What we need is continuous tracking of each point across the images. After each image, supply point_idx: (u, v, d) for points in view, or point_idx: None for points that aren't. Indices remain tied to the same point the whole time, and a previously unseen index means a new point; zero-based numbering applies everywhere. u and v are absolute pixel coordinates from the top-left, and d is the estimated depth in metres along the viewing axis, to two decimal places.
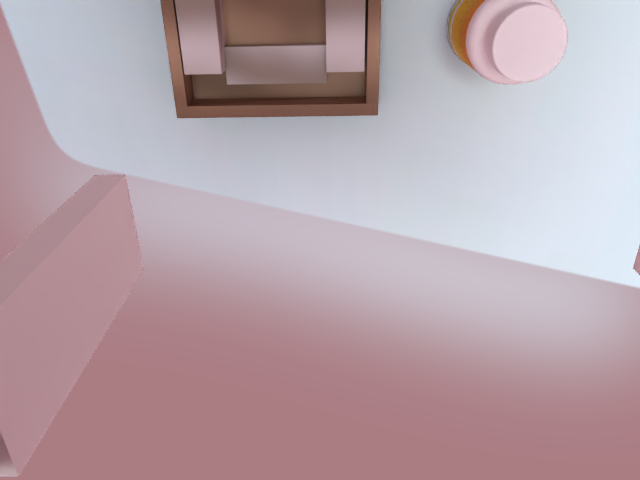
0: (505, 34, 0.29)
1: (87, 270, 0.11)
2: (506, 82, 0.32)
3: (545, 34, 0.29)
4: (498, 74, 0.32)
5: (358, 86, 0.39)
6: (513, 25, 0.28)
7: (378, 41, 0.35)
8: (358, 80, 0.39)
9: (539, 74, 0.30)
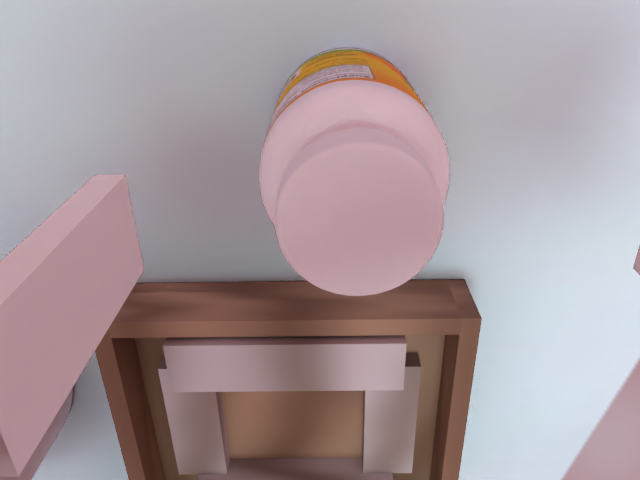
0: (336, 277, 0.13)
1: (87, 270, 0.11)
2: (444, 193, 0.15)
3: (338, 197, 0.12)
4: None
5: None
6: (317, 265, 0.13)
7: (361, 321, 0.22)
8: None
9: (429, 194, 0.12)
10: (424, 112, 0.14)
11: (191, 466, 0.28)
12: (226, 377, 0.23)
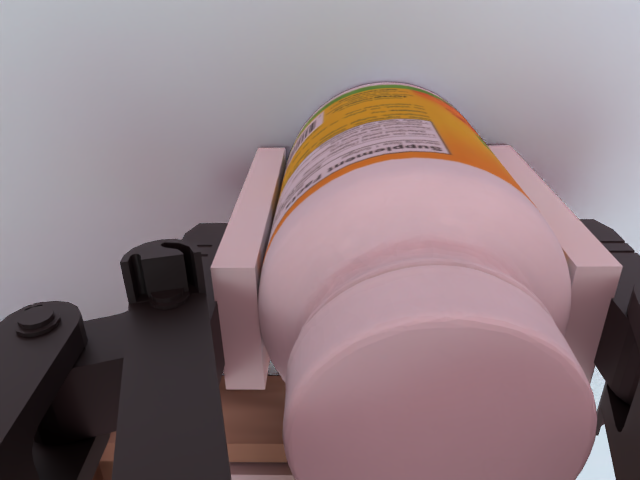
0: None
1: None
2: None
3: (402, 404, 0.07)
4: None
5: None
6: None
7: None
8: None
9: (575, 402, 0.06)
10: (538, 215, 0.08)
11: None
12: None
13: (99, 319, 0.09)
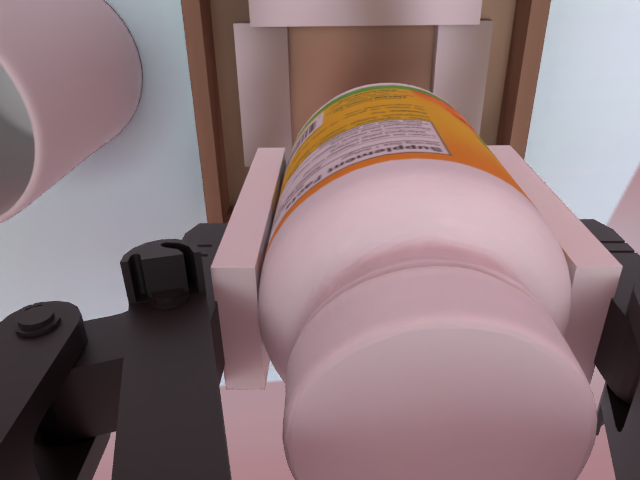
0: None
1: None
2: None
3: (402, 405, 0.07)
4: None
5: None
6: None
7: None
8: None
9: (575, 403, 0.06)
10: (538, 216, 0.08)
11: None
12: (305, 6, 0.23)
13: (99, 319, 0.09)
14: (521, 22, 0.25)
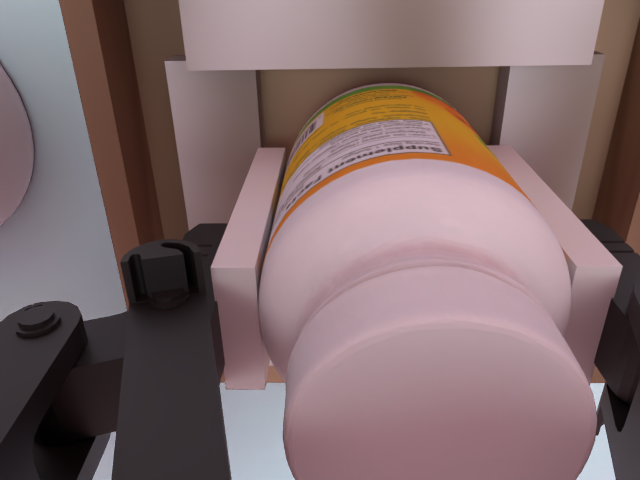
0: None
1: None
2: None
3: (402, 404, 0.07)
4: None
5: None
6: None
7: None
8: None
9: (575, 403, 0.06)
10: (538, 216, 0.08)
11: None
12: (283, 35, 0.13)
13: (99, 319, 0.09)
14: None
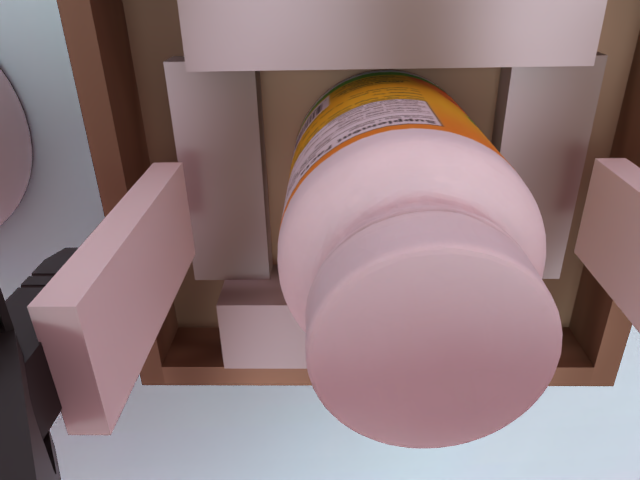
0: (394, 425, 0.09)
1: (156, 250, 0.12)
2: None
3: (404, 321, 0.08)
4: None
5: None
6: (366, 409, 0.09)
7: None
8: None
9: (544, 318, 0.08)
10: (517, 176, 0.10)
11: (214, 264, 0.18)
12: (283, 36, 0.13)
13: None
14: None
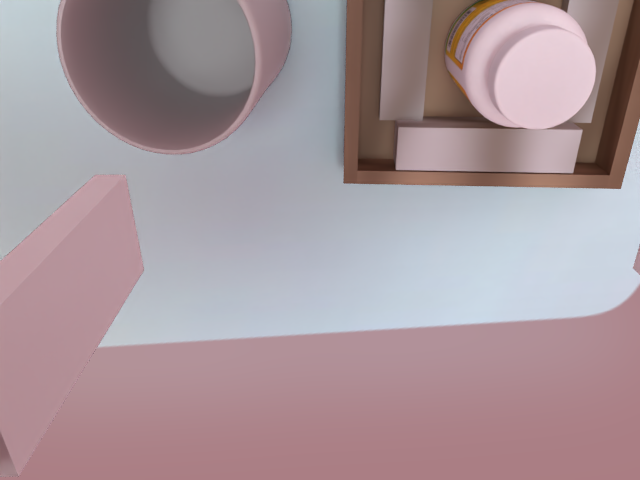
0: (525, 115, 0.22)
1: (87, 270, 0.11)
2: None
3: (536, 62, 0.21)
4: None
5: None
6: (515, 106, 0.22)
7: None
8: None
9: (589, 62, 0.21)
10: (577, 23, 0.23)
11: (392, 109, 0.31)
12: None
13: None
14: None
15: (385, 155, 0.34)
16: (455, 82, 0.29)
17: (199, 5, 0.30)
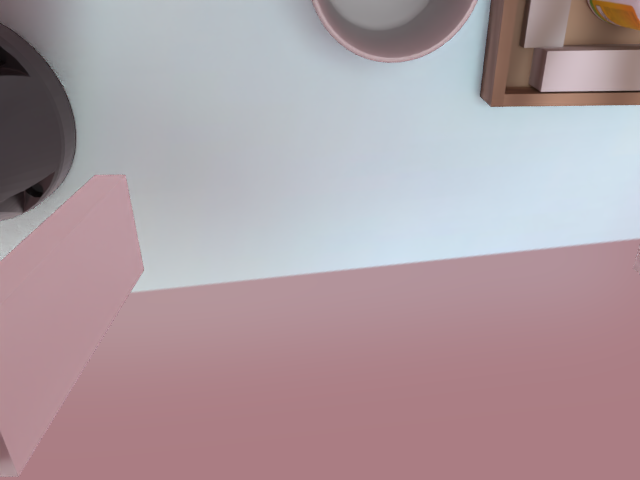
0: None
1: (87, 270, 0.11)
2: None
3: None
4: None
5: None
6: None
7: None
8: None
9: None
10: None
11: (536, 37, 0.35)
12: None
13: None
14: None
15: (521, 83, 0.37)
16: (602, 7, 0.33)
17: None
